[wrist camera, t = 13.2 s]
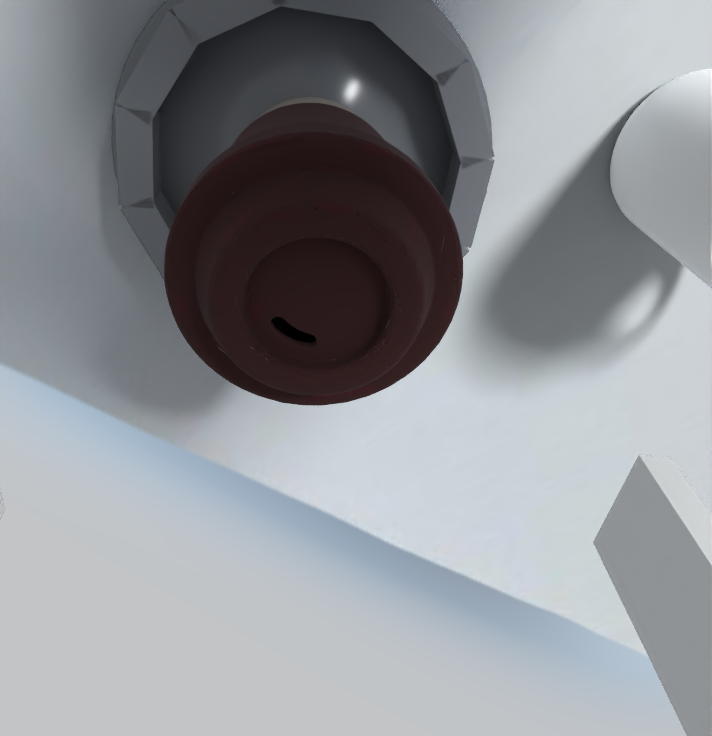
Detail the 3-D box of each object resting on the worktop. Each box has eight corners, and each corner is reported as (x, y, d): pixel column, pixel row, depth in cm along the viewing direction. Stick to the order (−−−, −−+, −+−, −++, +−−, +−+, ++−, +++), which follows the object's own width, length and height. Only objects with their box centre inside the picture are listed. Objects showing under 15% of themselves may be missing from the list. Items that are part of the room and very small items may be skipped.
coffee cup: (367, 28, 29) (420, 87, 17) (431, 221, 34) (507, 377, 22) (173, 113, 30) (86, 228, 18) (263, 287, 36) (244, 469, 23)
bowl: (106, -93, 27) (86, -98, 24) (534, -13, 30) (556, -10, 27) (124, 307, 37) (111, 333, 34) (441, 338, 40) (451, 365, 37)
